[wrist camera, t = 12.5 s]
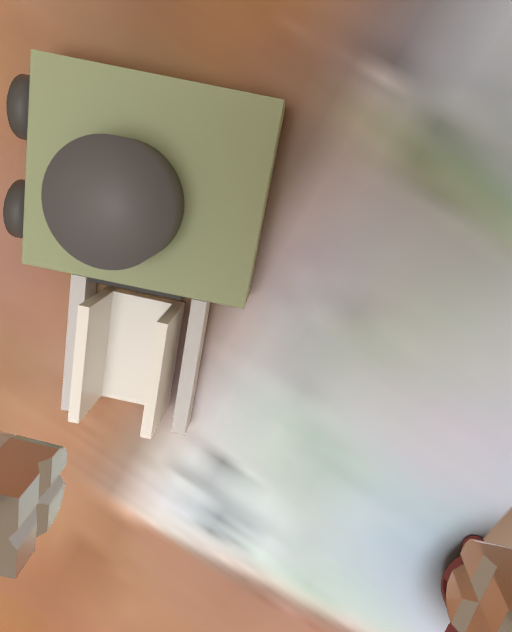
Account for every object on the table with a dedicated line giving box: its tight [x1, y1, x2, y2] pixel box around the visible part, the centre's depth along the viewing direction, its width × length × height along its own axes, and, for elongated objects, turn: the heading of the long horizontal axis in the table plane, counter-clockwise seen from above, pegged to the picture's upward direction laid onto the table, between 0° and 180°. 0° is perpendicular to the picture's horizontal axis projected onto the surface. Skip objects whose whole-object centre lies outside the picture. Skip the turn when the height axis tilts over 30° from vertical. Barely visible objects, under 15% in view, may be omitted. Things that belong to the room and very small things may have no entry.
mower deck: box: [3, 49, 285, 435], centre depth 30 cm, size 22×15×6 cm
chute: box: [68, 286, 185, 439], centre depth 32 cm, size 8×6×5 cm
